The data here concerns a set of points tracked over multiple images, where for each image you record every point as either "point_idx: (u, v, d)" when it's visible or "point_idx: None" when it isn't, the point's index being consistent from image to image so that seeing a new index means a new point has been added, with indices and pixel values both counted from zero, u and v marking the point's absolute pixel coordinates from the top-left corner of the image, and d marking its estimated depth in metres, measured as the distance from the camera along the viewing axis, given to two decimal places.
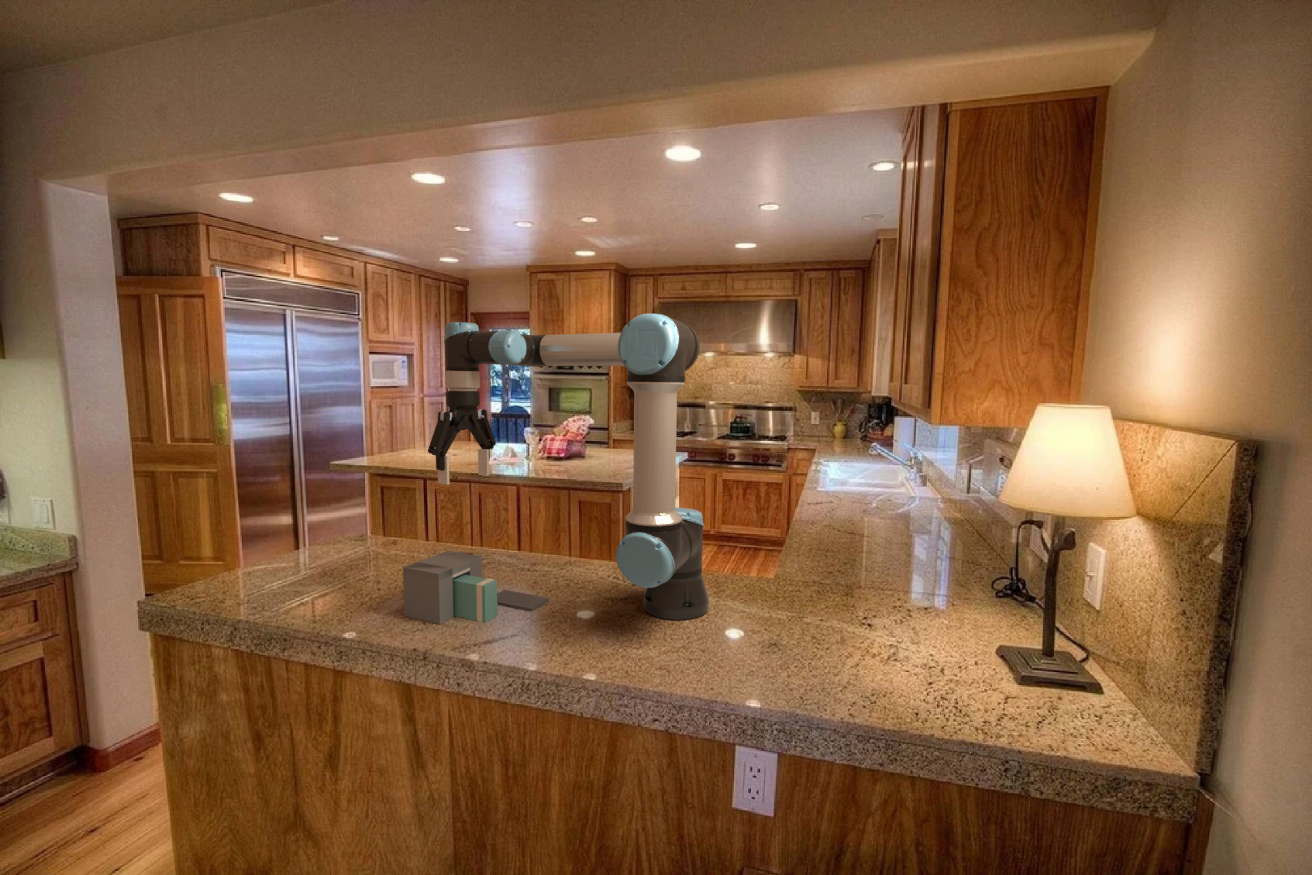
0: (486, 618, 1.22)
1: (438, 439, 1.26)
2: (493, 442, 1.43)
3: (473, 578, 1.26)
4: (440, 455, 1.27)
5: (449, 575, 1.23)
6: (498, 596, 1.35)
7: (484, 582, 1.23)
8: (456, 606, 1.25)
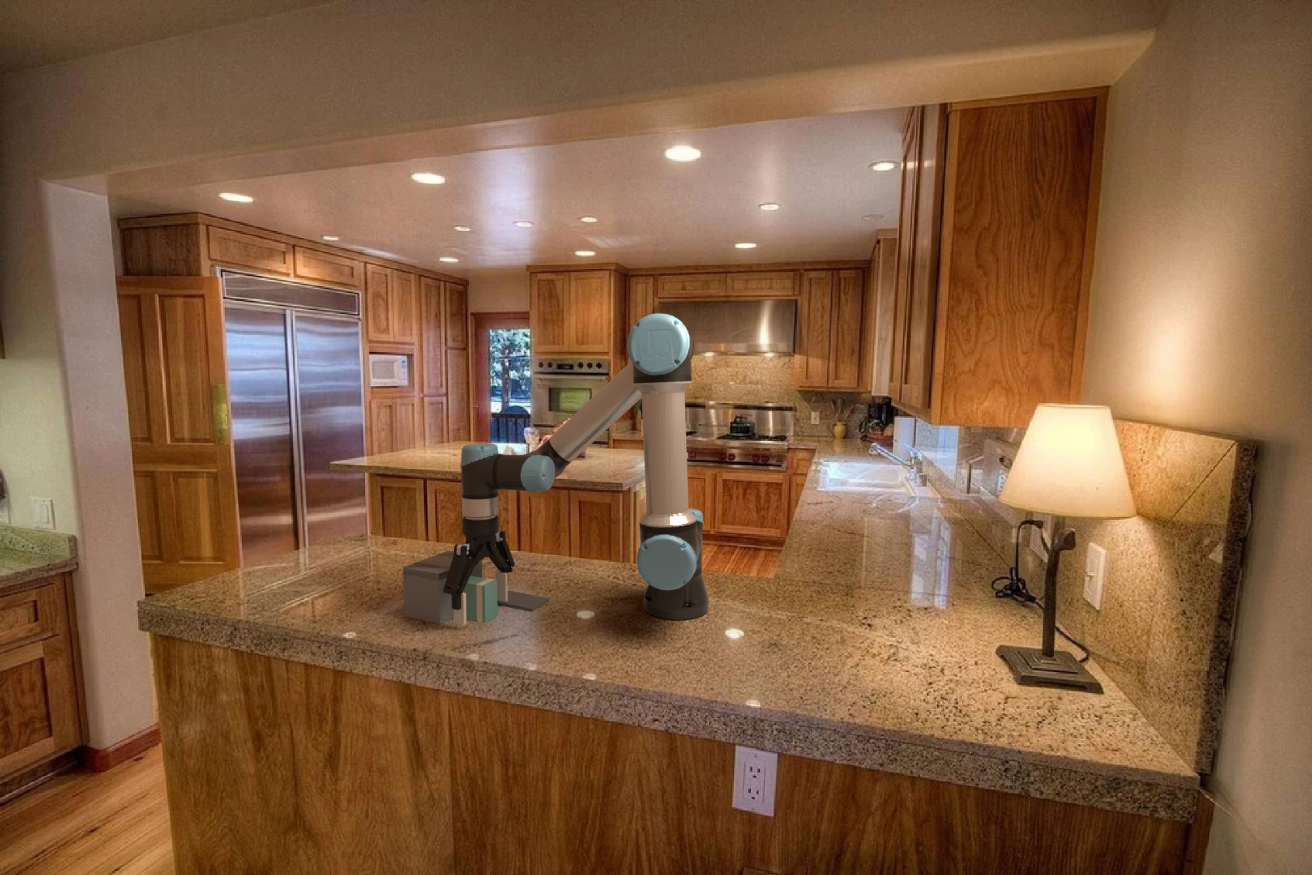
0: (486, 618, 1.22)
1: (454, 578, 1.15)
2: (512, 563, 1.32)
3: (473, 578, 1.26)
4: (457, 594, 1.16)
5: None
6: None
7: (484, 582, 1.23)
8: None
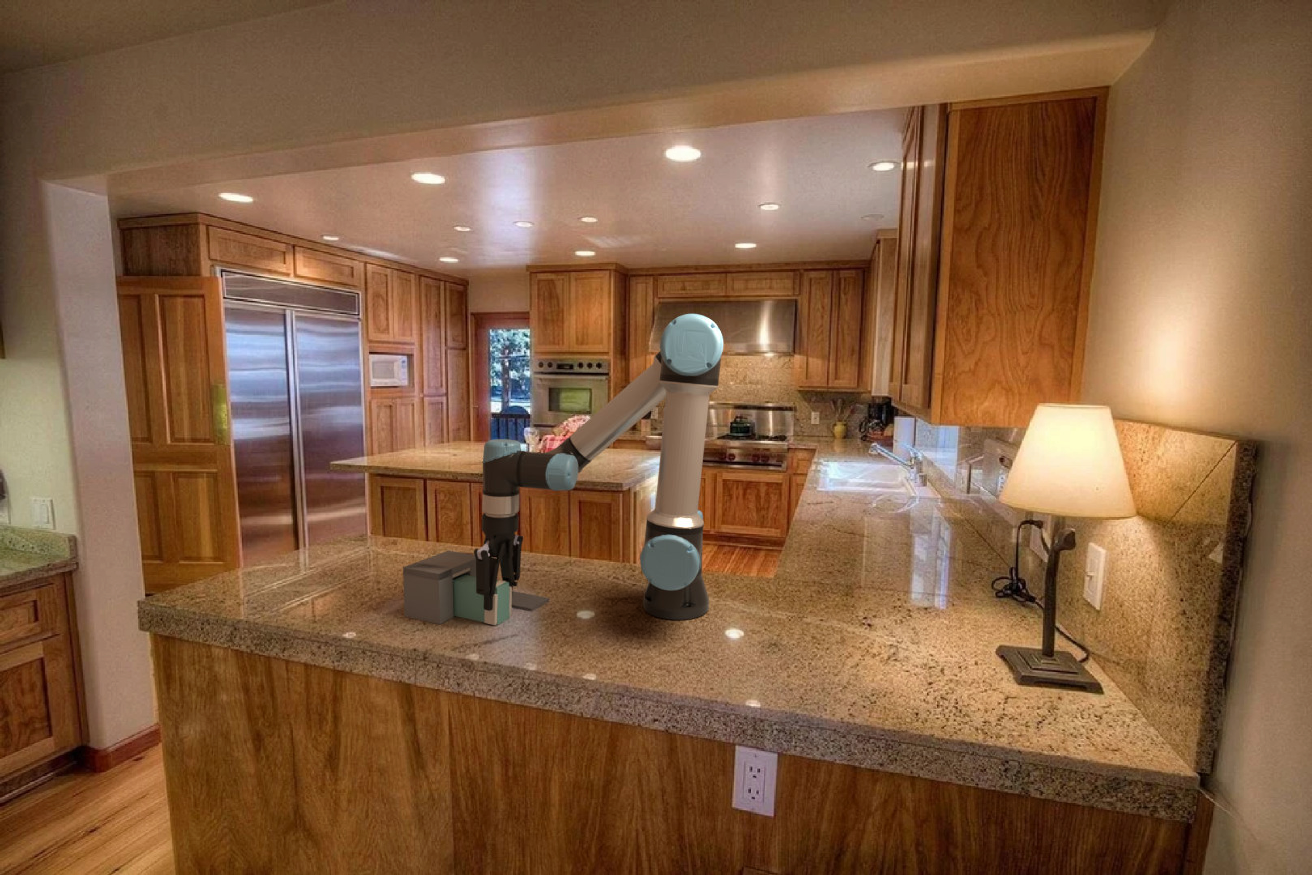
0: (498, 621, 1.21)
1: (483, 581, 1.16)
2: (517, 576, 1.26)
3: None
4: (489, 595, 1.18)
5: (449, 575, 1.23)
6: None
7: (496, 584, 1.22)
8: (468, 609, 1.23)
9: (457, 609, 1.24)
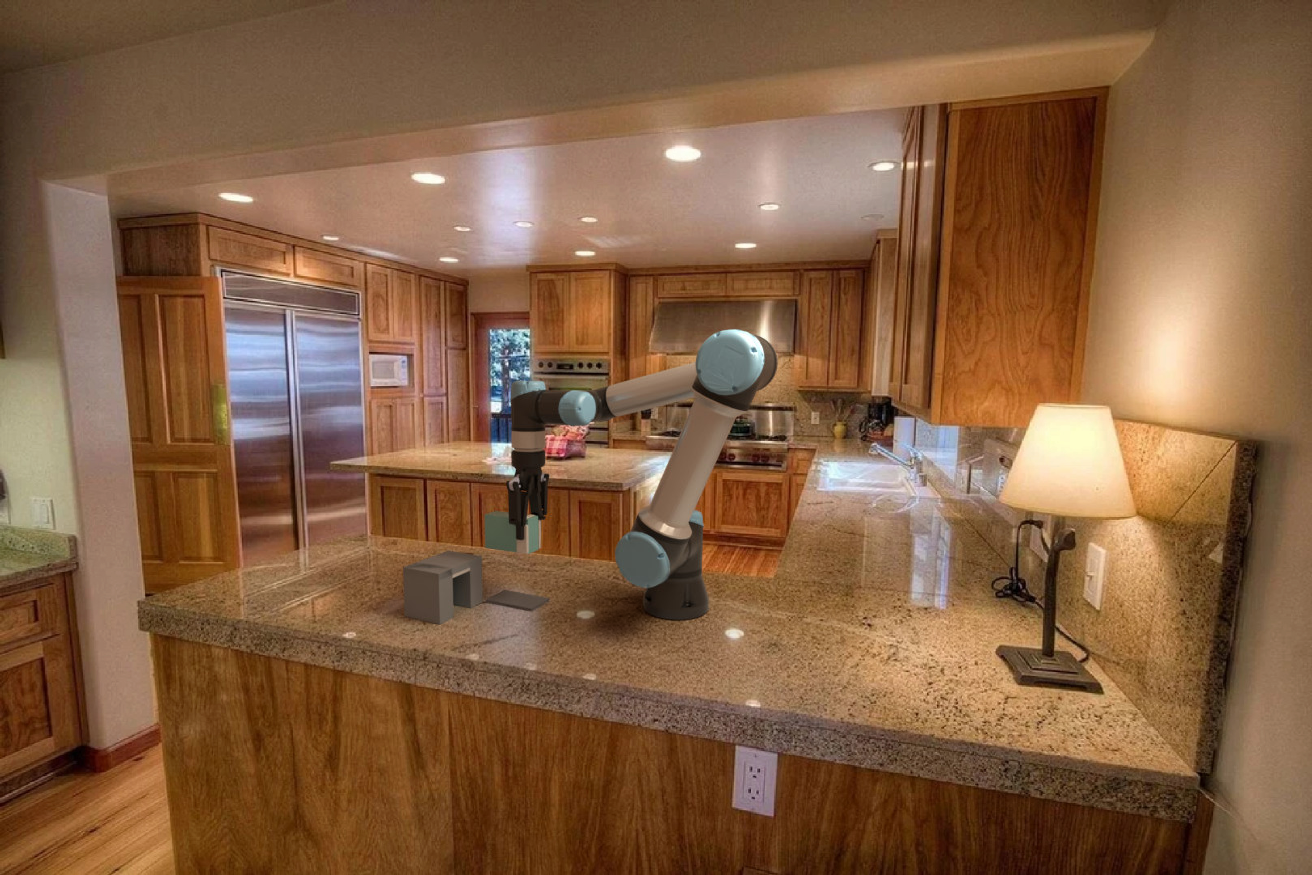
0: (529, 550, 1.29)
1: (516, 511, 1.24)
2: (545, 511, 1.34)
3: None
4: (521, 525, 1.27)
5: (449, 575, 1.23)
6: (498, 596, 1.35)
7: None
8: (500, 540, 1.32)
9: (489, 541, 1.33)
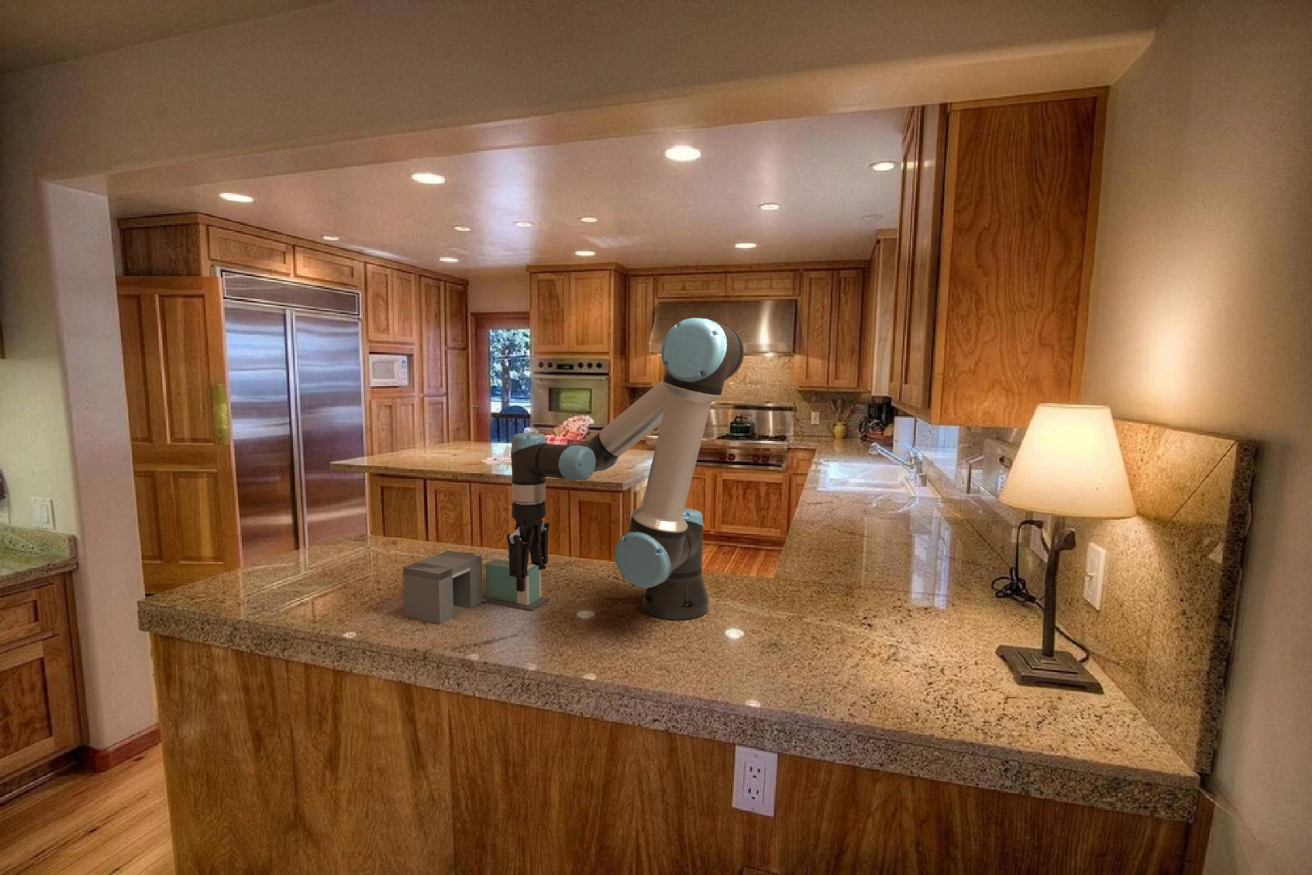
0: (529, 601, 1.30)
1: (516, 564, 1.26)
2: (545, 560, 1.35)
3: None
4: (521, 577, 1.28)
5: (449, 575, 1.23)
6: None
7: (527, 567, 1.31)
8: (500, 590, 1.33)
9: (490, 591, 1.34)
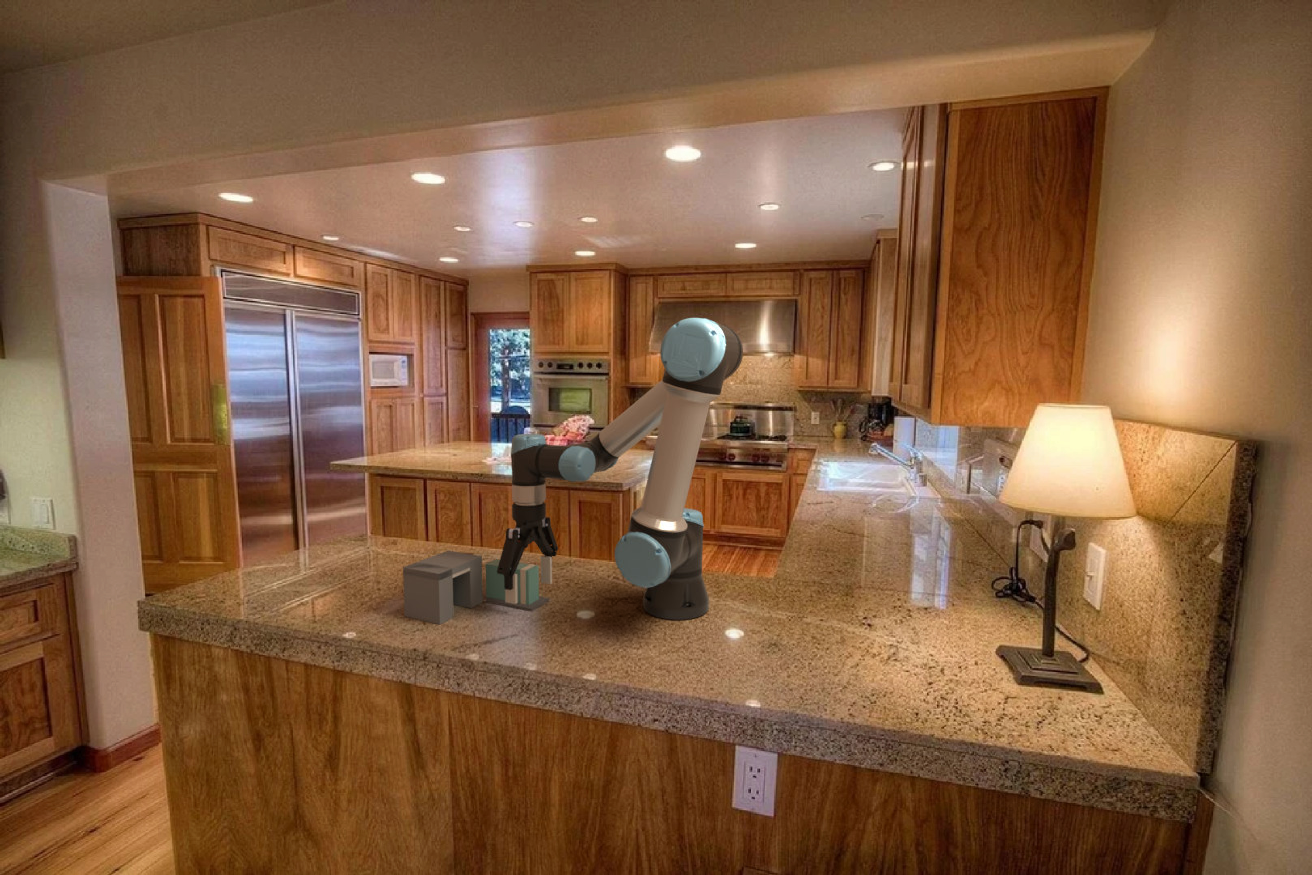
0: (529, 601, 1.30)
1: (507, 559, 1.22)
2: (555, 548, 1.39)
3: None
4: (509, 575, 1.24)
5: (449, 575, 1.23)
6: None
7: (527, 567, 1.31)
8: (500, 590, 1.33)
9: (490, 591, 1.34)
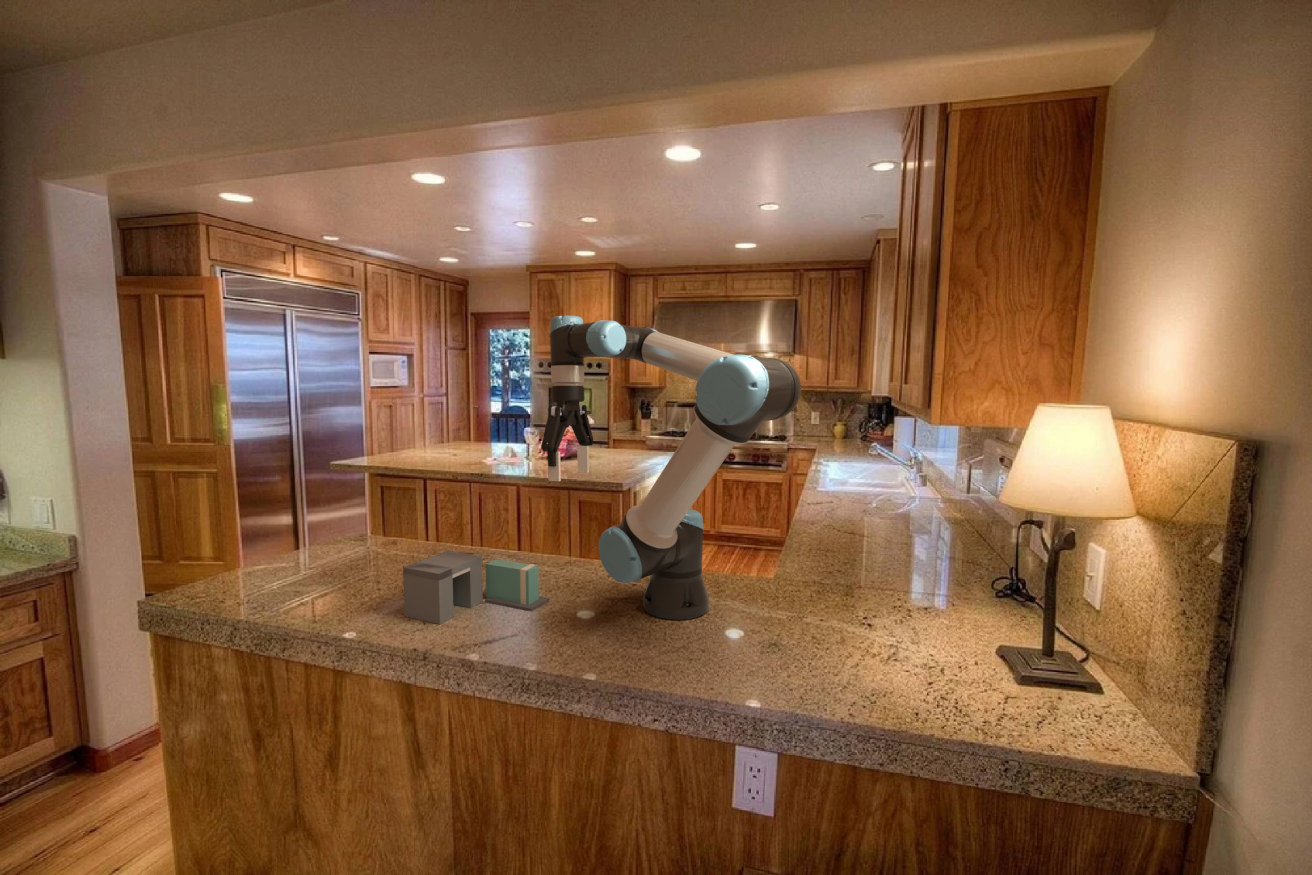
0: (529, 601, 1.30)
1: (551, 434, 1.23)
2: (591, 438, 1.40)
3: (515, 564, 1.34)
4: (553, 451, 1.24)
5: (449, 575, 1.23)
6: None
7: (527, 567, 1.31)
8: (500, 590, 1.33)
9: (490, 591, 1.34)
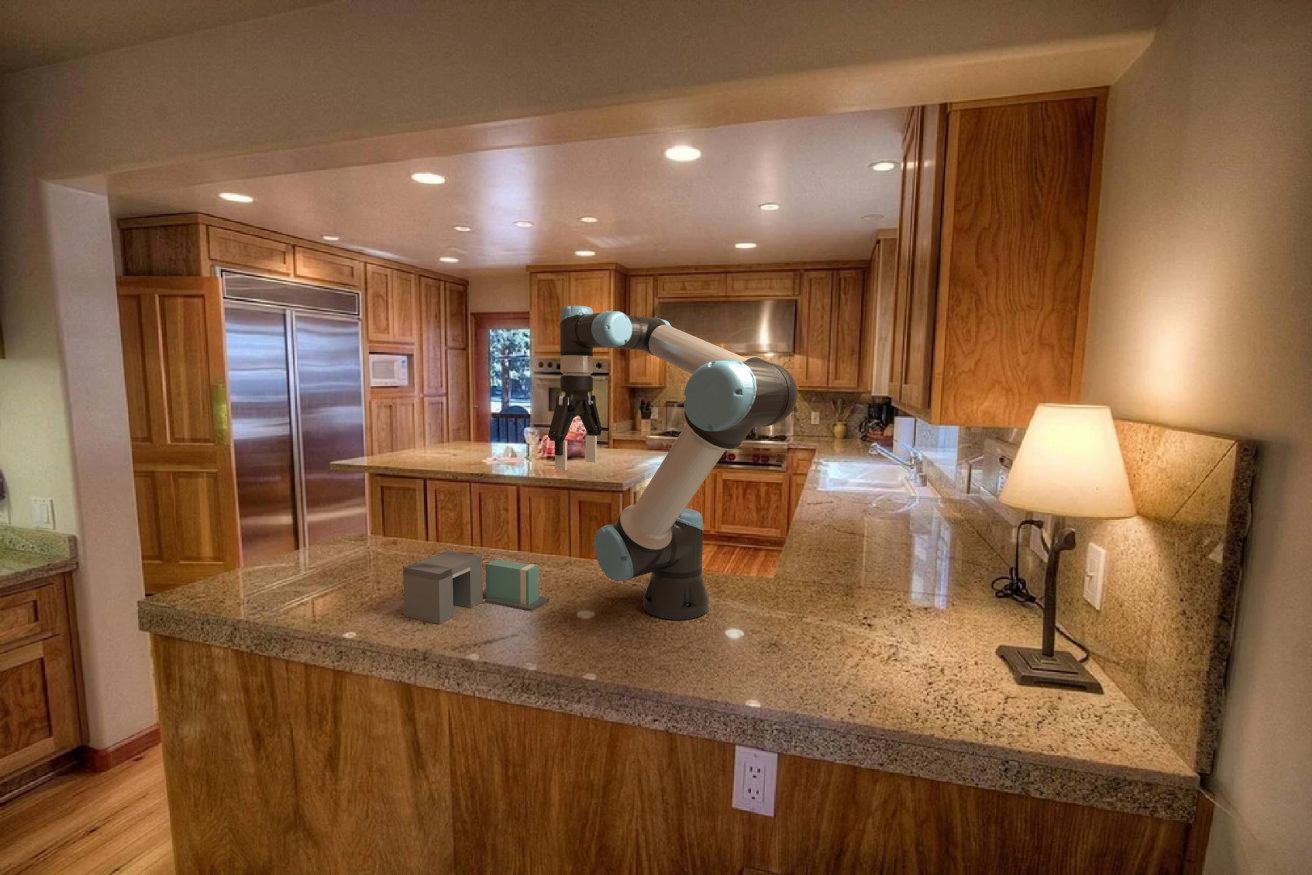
0: (529, 601, 1.30)
1: (558, 424, 1.25)
2: (600, 429, 1.41)
3: (515, 564, 1.34)
4: (560, 440, 1.26)
5: (449, 575, 1.23)
6: None
7: (527, 567, 1.31)
8: (500, 590, 1.33)
9: (490, 591, 1.34)
